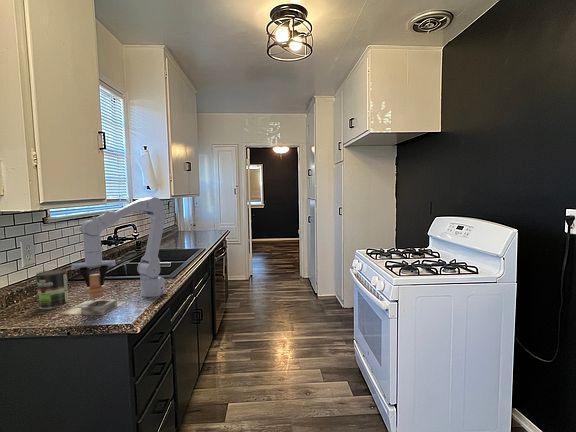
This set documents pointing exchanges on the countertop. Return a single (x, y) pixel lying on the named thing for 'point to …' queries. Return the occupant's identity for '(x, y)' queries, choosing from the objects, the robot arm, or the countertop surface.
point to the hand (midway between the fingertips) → (95, 285)
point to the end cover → (95, 286)
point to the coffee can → (52, 288)
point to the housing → (94, 307)
